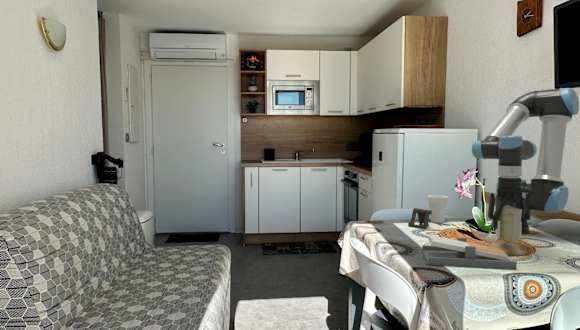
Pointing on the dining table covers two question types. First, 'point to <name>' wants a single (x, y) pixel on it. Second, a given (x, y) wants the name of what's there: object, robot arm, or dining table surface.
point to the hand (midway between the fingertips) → (508, 237)
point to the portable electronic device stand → (420, 218)
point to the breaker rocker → (460, 245)
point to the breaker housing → (463, 257)
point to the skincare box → (510, 223)
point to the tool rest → (510, 248)
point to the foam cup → (437, 207)
